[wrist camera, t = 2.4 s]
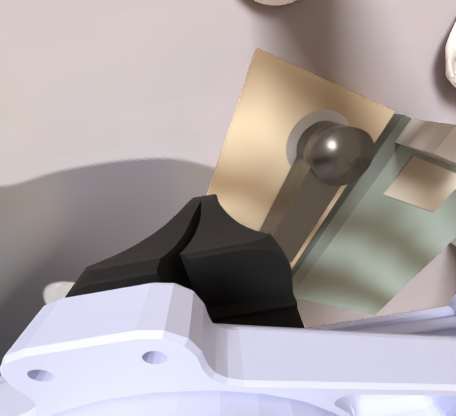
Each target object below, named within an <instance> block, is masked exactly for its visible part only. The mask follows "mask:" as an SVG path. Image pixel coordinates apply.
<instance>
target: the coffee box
mask: <svg viewBox="0 0 456 416" xmlns="http://www.w3.org/2000/svg"><path fill="white" fill-rule="evenodd" d="M450 243H451V244H452V245H454V246H455V247H456V237H455V238H454V239H453V240H452V241H451V242H450Z"/></svg>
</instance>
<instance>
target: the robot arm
mask: <svg viewBox="0 0 456 416" xmlns="http://www.w3.org/2000/svg"><path fill="white" fill-rule="evenodd" d="M0 372H1V375H2V376H0V416H456V292H455V293H454V294H453V296H452V298H451V301H450V305H449V306H444V307H437V308H431V309H424V310H418V311H412V312H405V313H399V314H393V315H386V316H380V317H374V318H367V319H361V320H355V321H348V322H342V323H336V324H329V325H323V326H317V327H310V328H304V325H303V323H302V320H301V317H300V315H299V312H298V309H297V302H296V299H295V296H294V294H293V281H292V269H291V265H290V262H289V260H288V258H287V256H286V255H285V253H284V251H283V250H282V248H281V247H280V246H279V244H278V243H277V242H276V240H275V239H274V238H273V237H272V235H270V234H267V233H263V232H259V231H256V230H253V229H250V228H248V227H246V226H244V225H242V224H240V223H239V222H237V221H236V220H234V219H233V218H232V217H231V216H230V215H229V214H228V213H227V212H226V211H225V210H224V209H223V207H222V206H221V205H220V203H219V201H218V198H217V195H216V194H211V195H206V196H201V197H195V198H192V200H190V201H189V202H188V203H187V204H186V205H185V206H184V207H183V209H182V210H181V211H180V212H179V213H178V214H177V215H176V216H175V217H173V218H172V219H171V220H170V221H169V222H168V223H167V224H166V225H165V226H163V227H162V228H161V229H159V230H158V231H157V232H155V233H154V234H153V235H151V236H149V237H148V238H146V239H145V240H143V241H141V242H140V243H138V244H136V245H135V246H133V247H131V248H129V249H127V250H125V251H123V252H121V253H119V254H117V255H115V256H113V257H110V258H108V259H105V260H103V261H101V262H98V263H96V264H93V265H91V266H88V267H86V269H85V270H84V272H83V273H82V274H81V276H80V277H79V279H78V280H77V281H76V283H75V284H74V285H73V287H72V288H71V290H70V291H69V292H68V294H67V295H66V297H65V298H62V299H59V300H57V301H54V302H52V303H50V304H47V305H45V306H44V307H43V308H42V309H41V311H40V312H39V313H38V314H37V316H36V317H35V318H34V319H33V321H32V322H31V323H30V325H29V326H28V327H27V328H26V329H25V331H24V332H23V333H22V334H21V336H20V337H19V338H18V339H17V341H16V342H15V343H14V345H13V346H12V347H11V348H10V350H9V351H8V352H7V353H6V355H5V356H4V358H3V361H2V364H1V367H0Z"/></svg>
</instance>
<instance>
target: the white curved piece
mask: <svg viewBox="0 0 456 416" xmlns="http://www.w3.org/2000/svg"><path fill="white" fill-rule="evenodd" d="M445 57H446V77H447V79H448V80H449V81H450V82H451V83H452V85H453V86H454V87H456V22H455V24H454V26H453V28H452V31H451V32H450V35H449V38H448V40H447V43H446V47H445Z"/></svg>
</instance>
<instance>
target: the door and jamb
mask: <svg viewBox="0 0 456 416" xmlns="http://www.w3.org/2000/svg"><path fill="white" fill-rule="evenodd" d="M394 113H395V111H393V110H391V109H389V108H387V107H384V106H382V105H380V104H378V103H376V102H374V101H371V100H369V99H367V98H365V97H363V96H361V95H358V94H356V93H354V92H352V91H350V90H348V89H345V88H343V87H341V86H339V85H337V84H335V83H332V82H330V81H328V80H326V79H324V78H322V77H319V76H317V75H315V74H313V73H311V72H309V71H306V70H304V69H302V68H300V67H298V66H296V65H293V64H291V63H289V62H287V61H285V60H283V59H280V58H278V57H276V56H274V55H272V54H270V53H267V52H265V51H263V50H261V49H259V48H257V49H256V51H255V52H254V55H253V58H252V61H251V64H250V67H249V70H248V73H247V76H246V79H245V82H244V85H243V88H242V91H241V94H240V97H239V100H238V103H237V106H236V109H235V112H234V115H233V118H232V121H231V124H230V127H229V130H228V133H227V136H226V139H225V142H224V145H223V148H222V151H221V154H220V157H219V160H218V163H217V166H216V169H215V172H214V175H213V178H212V181H211V184H210V187H209V190H208V192H207V195H211V194H216V195H217V198H218V201H219V203H220V205H221V206H222V207H223V209H224V210H225V211H226V212H227V213H228V214H229V215H230V216H231V217H232V218H233V219H234V220H236V221H237V222H239V223H240V224H242V225H244V226H246V227H248V228H250V229H253V230H256V231H259V230H260V228H261V226H262V224H263V222H264V220H265V218H266V216H267V214H268V212H269V210H270V208H271V206H272V204H273V202H274V200H275V198H276V196H277V194H278V192H279V190H280V188H281V186H282V185H283V183H284V181H285V179H286V177H287V175H288V173H289V171H290V169H291V167H292V165H293V163H294V161H295V159H296V157H297V144H298V141H299V138H300V136H301V135H302V133H303V132H304V131H305V130H306V129H307V128H308V127H309V126H311V125H312V124H314V123H316V122H319V121H332V122H336V123H340V124H344V125H348V126H352V127H355V128H359V129H362V130H364V131H366V132H367V133H368V134H369V135H370V136H371V137H372V139H373V142H374V147H375V151H374V157H373V160H372V162H371V164H370V166H369V168H368V169H367V170H366V172H365V173H364V174H363V175H362V176H361V177H359V178H358V179H357V180H355V181H354V182H352V183H350V184H347V185H343V186H341V187H340V188H339V190H338V192H337V193H336V195H335V196H334V198H333V199H332V201H331V202H330V204H329V205H328V207H327V209H326V210H325V212H324V213H323V215H322V216H321V218H320V219H319V221H318V223H317V224H316V226H315V227H314V229H313V230H312V232H311V233H310V235H309V236H308V238H307V240H306V241H305V243H304V244H303V246H302V247H301V249H300V250H299V252H298V254H297V255H296V257H295V258H294V260H293V261H292V263H291V264H290V265H291V269H292V281H293V294H294V296H295V299H299V300H304V301H309V302H313V303H318V304H323V305H328V306H332V307H337V308H342V309H347V310H352V311H356V312H361V313H366V314H371V315H375V314H376V313H377V312H378V311H379V310H381V309H382V308H383V307H384V306H385V305H386V304H387V303H388V302H389V301H390V300H391V299H392V298H393V297H394V296H395V295H396V294H397V293H398V292H399V291H400V290H401V289H402V288H403V287H404V286H405V285H407V284H408V283H409V282H410V281H411V280H412V279H413V278H414V277H415V276H416V275H417V274H418V273H419V272H420V271H421V270H422V269H423V268H424V267H425V266H426V265H427V264H428V263H429V262H430V261H431V260H433V259H434V258H435V257H436V256H437V255H438V254H439V253H440V252H441V251H442V250H443V249H444V248H445V247H446V246H447V245H448V244H449V243H450V242H451V241H452V240H453V239H454V238H455V237H456V125H452V124H445V123H438V122H431V121H423V120H416V119H411V118H409V117H406V116H404V115H400V114H394Z"/></svg>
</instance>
